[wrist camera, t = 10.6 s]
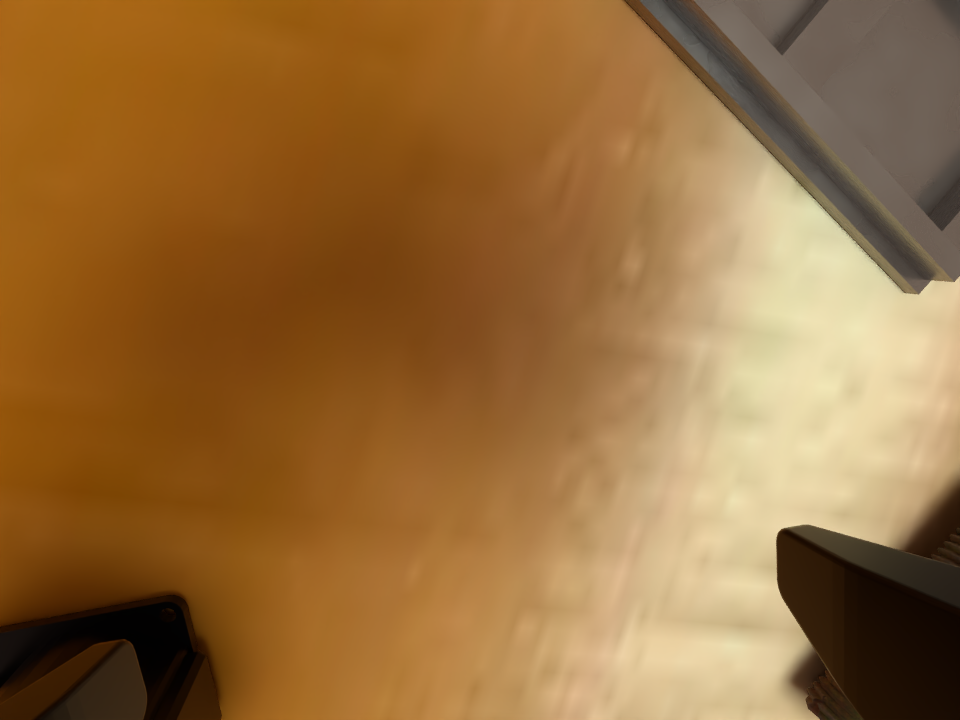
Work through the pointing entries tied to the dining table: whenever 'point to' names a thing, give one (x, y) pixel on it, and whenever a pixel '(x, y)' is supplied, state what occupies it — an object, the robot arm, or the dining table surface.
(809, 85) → the compartment tray
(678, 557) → the dining table surface
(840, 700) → the bolt
